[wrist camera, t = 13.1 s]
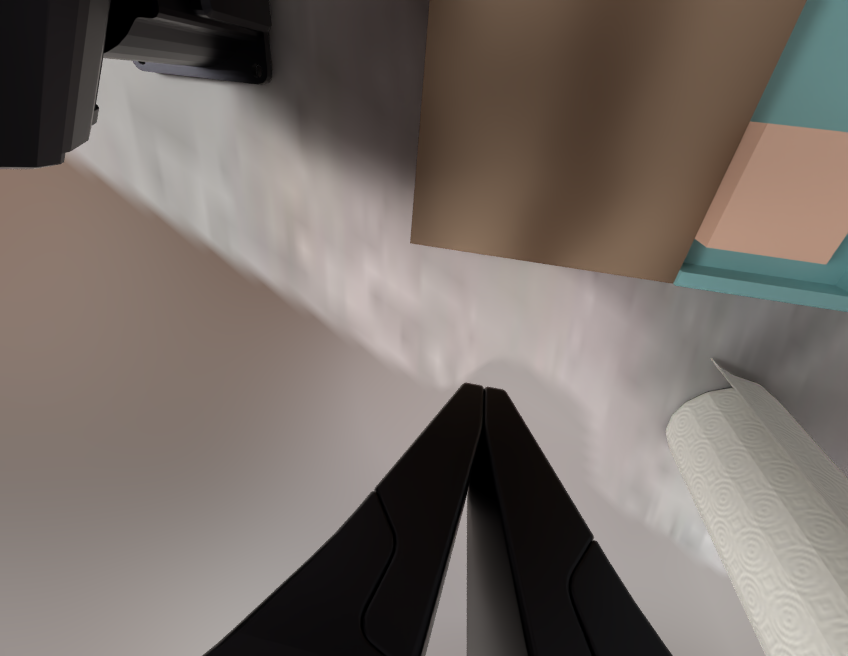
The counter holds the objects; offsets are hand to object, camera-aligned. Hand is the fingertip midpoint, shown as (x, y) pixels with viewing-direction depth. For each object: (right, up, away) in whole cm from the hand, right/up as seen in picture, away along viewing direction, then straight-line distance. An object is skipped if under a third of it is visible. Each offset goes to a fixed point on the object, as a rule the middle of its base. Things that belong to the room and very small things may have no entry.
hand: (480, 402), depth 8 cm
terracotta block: (+12, +7, +7) cm, 15 cm away
